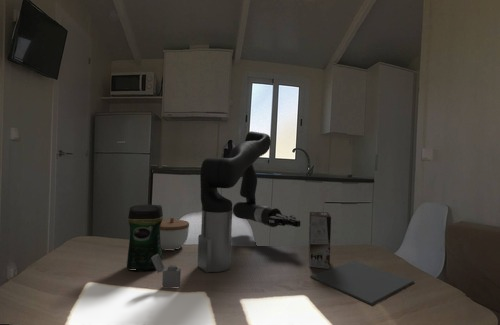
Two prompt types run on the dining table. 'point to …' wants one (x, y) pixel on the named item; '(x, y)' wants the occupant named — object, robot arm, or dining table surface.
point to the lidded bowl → (173, 233)
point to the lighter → (167, 272)
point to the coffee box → (319, 239)
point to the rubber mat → (362, 281)
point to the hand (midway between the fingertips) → (299, 223)
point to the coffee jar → (144, 236)
